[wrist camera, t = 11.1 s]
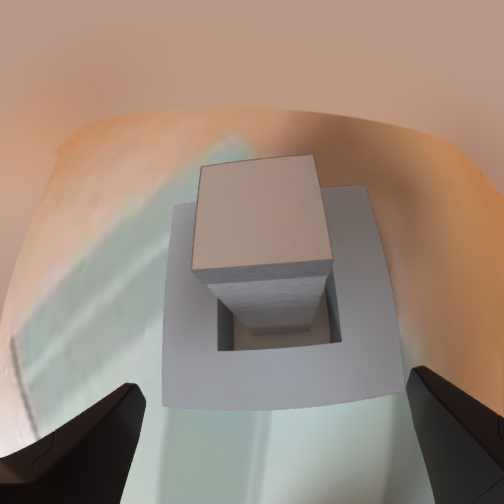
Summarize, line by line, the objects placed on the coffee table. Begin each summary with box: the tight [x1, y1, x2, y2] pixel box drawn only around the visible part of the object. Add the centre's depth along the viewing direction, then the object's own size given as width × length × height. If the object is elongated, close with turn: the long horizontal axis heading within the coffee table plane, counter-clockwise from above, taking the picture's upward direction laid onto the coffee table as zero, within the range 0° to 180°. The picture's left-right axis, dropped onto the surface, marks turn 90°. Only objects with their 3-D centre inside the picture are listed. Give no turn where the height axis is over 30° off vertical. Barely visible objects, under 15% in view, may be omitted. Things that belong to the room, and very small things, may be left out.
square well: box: [162, 185, 405, 411], centre depth 18 cm, size 14×14×5 cm
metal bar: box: [191, 154, 334, 335], centre depth 14 cm, size 4×4×13 cm
